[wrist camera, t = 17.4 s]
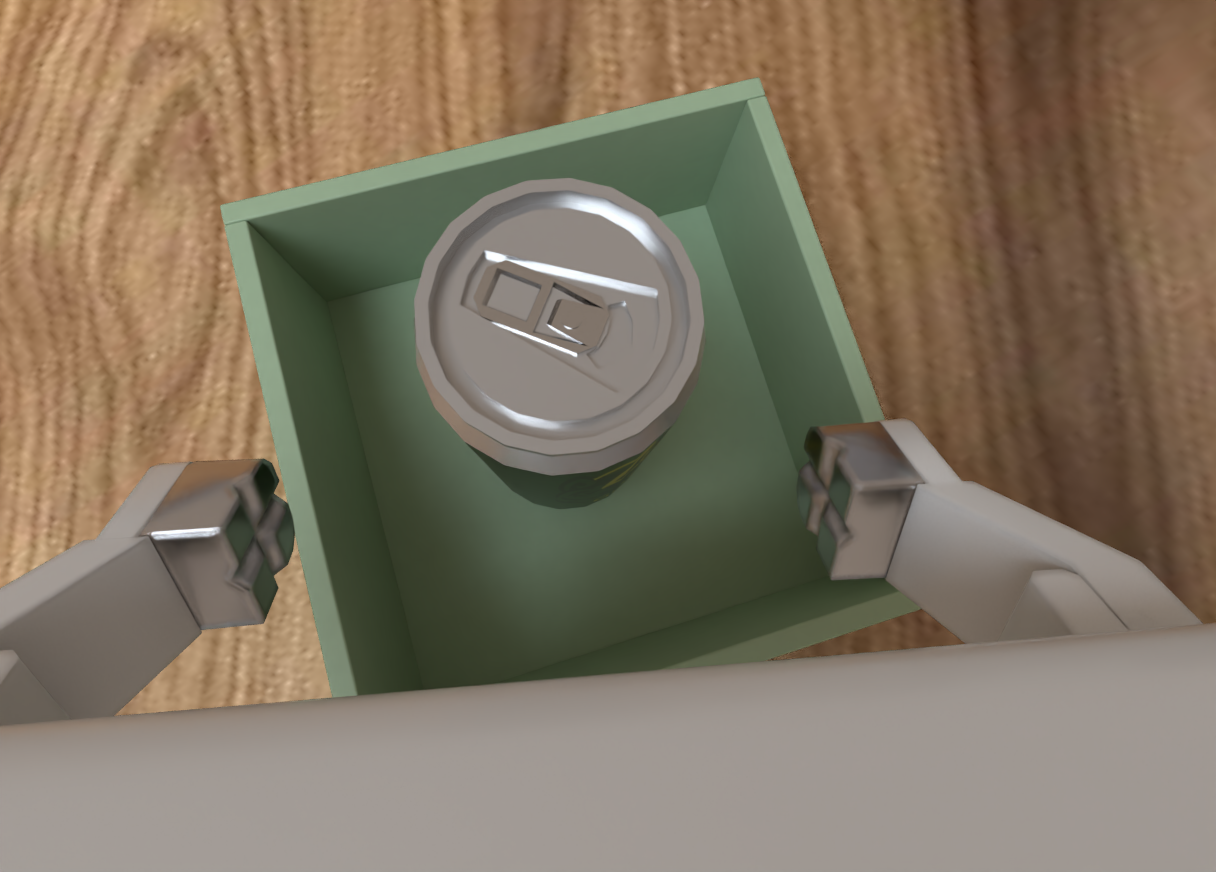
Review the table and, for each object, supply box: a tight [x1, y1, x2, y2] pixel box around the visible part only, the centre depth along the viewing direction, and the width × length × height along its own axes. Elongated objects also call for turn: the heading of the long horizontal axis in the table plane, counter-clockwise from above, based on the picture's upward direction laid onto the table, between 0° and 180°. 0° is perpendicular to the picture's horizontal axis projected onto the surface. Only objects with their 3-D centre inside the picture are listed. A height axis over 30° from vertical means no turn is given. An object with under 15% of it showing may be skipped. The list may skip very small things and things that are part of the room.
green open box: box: [220, 77, 921, 698], centre depth 21 cm, size 15×15×7 cm
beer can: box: [414, 178, 706, 509], centre depth 17 cm, size 5×5×12 cm
